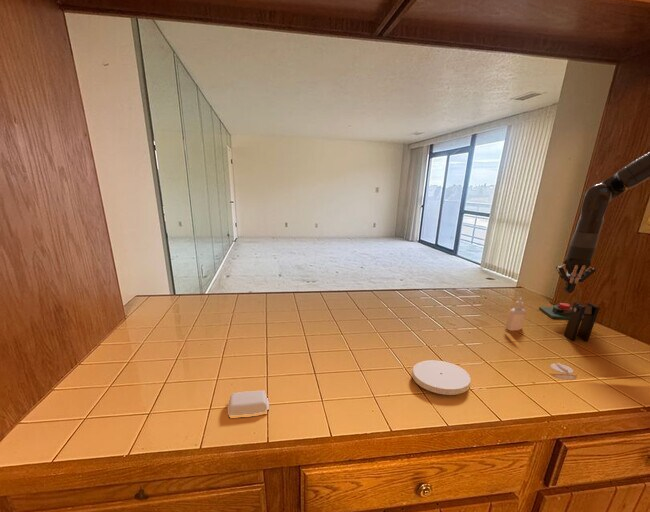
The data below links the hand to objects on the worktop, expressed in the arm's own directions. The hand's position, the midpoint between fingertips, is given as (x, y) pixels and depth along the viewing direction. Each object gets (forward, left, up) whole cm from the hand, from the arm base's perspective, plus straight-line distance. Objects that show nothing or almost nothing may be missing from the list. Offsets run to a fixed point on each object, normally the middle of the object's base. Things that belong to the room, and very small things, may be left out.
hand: (568, 292), depth 127 cm
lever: (+7, +18, -2) cm, 19 cm away
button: (0, 0, -6) cm, 7 cm away
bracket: (+7, +22, -10) cm, 25 cm away
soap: (+101, +68, -10) cm, 122 cm away
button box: (0, 0, -10) cm, 10 cm away
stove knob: (+22, +43, -10) cm, 49 cm away
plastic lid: (+56, +52, -10) cm, 77 cm away
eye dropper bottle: (+24, +16, -10) cm, 30 cm away
